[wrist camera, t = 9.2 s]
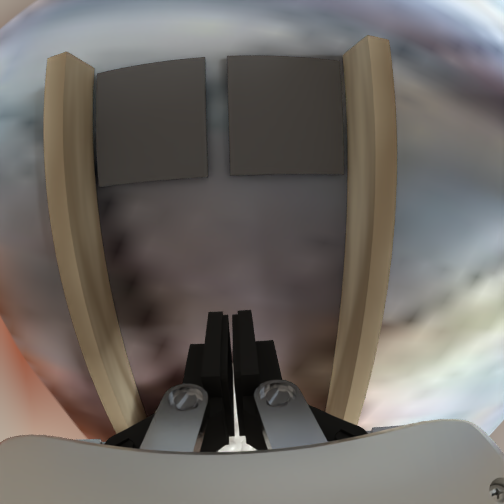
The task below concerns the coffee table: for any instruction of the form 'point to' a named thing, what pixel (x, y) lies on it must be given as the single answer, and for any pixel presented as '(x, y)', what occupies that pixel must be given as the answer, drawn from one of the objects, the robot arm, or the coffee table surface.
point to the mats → (240, 119)
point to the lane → (356, 244)
